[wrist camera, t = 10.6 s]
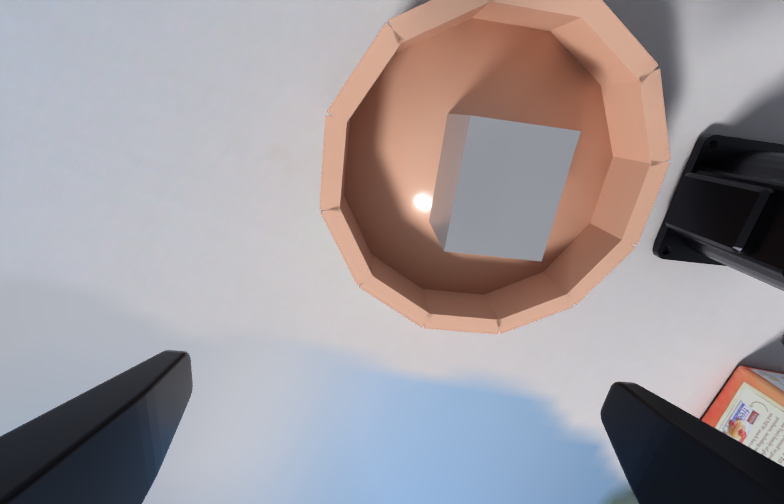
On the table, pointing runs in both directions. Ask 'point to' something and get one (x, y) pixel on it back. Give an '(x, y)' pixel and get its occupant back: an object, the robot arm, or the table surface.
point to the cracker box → (752, 411)
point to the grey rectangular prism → (499, 186)
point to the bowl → (505, 102)
